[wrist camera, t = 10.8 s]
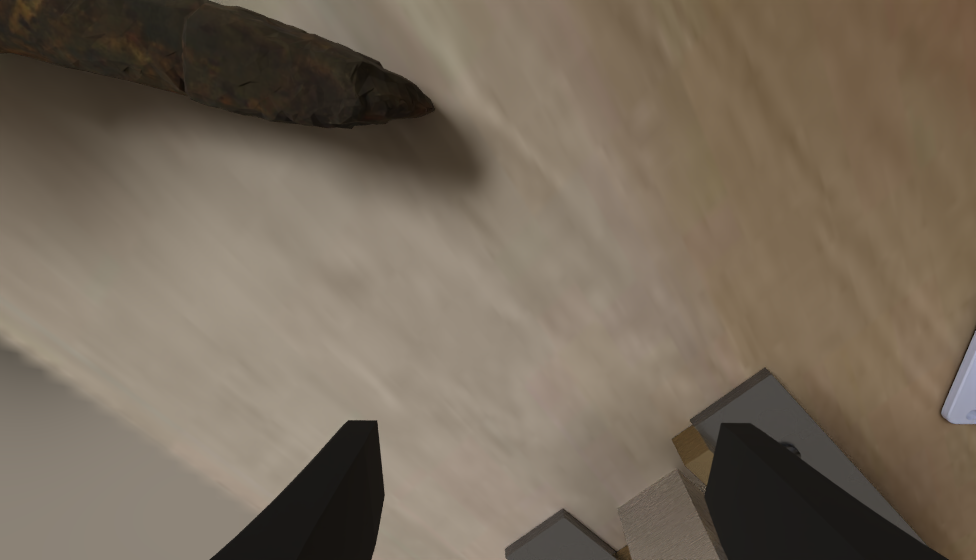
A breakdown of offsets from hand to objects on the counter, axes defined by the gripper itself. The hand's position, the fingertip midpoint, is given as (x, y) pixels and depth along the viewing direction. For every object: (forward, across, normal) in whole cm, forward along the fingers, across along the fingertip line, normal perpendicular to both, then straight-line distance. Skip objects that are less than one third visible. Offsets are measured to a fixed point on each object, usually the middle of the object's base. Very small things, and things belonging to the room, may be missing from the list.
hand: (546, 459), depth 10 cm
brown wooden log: (+10, +12, -9) cm, 18 cm away
